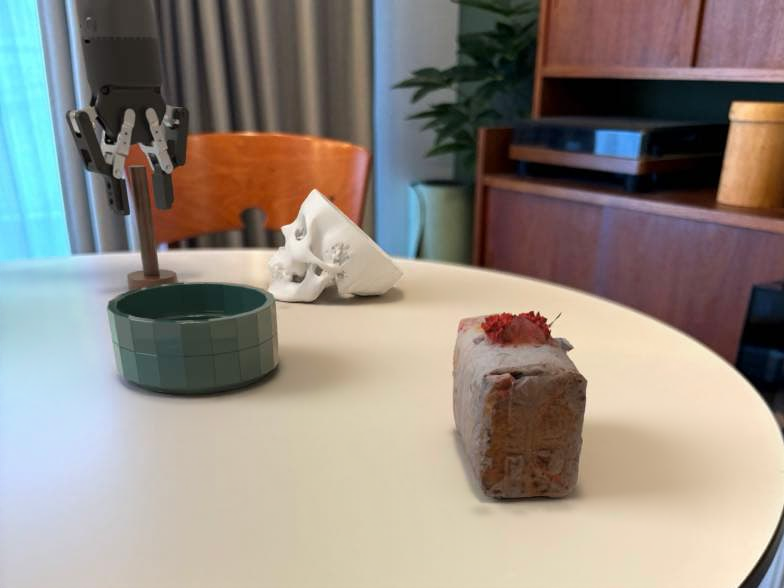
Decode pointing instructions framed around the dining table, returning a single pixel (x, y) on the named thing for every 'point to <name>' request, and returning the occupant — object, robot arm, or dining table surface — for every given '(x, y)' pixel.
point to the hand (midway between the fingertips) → (143, 211)
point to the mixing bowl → (194, 336)
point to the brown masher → (146, 236)
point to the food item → (518, 405)
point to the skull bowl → (328, 256)
